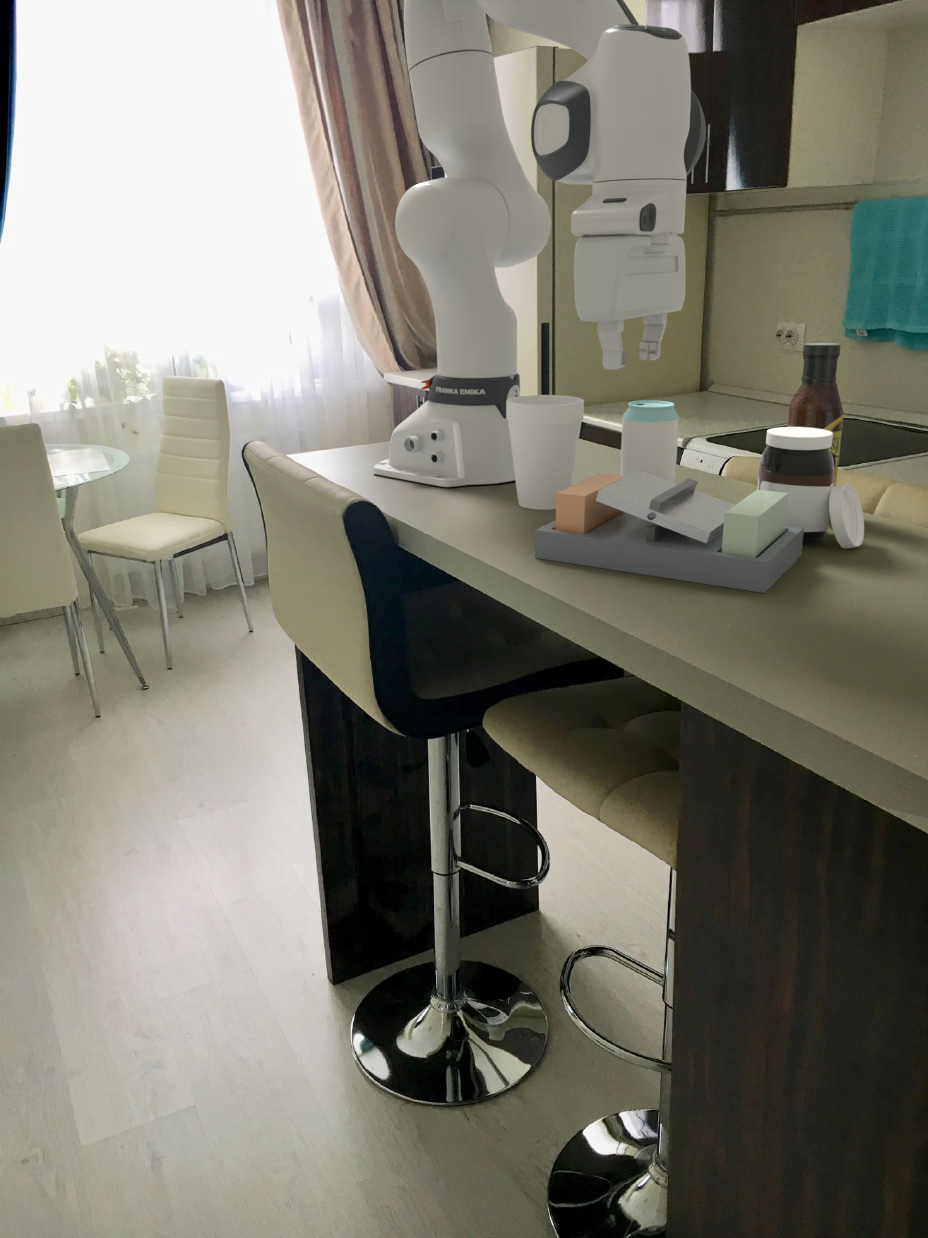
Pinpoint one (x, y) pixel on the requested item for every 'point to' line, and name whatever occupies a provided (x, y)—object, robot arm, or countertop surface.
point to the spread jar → (810, 485)
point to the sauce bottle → (819, 395)
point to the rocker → (668, 504)
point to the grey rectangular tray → (669, 553)
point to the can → (650, 439)
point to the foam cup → (543, 446)
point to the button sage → (754, 523)
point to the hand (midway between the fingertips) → (632, 363)
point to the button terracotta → (584, 505)
